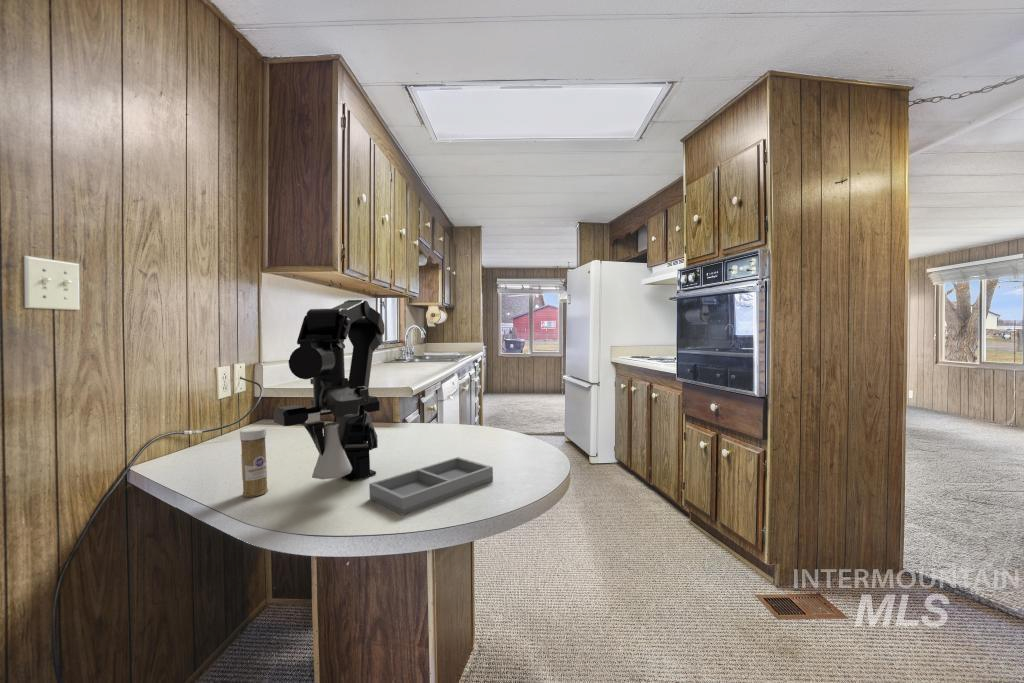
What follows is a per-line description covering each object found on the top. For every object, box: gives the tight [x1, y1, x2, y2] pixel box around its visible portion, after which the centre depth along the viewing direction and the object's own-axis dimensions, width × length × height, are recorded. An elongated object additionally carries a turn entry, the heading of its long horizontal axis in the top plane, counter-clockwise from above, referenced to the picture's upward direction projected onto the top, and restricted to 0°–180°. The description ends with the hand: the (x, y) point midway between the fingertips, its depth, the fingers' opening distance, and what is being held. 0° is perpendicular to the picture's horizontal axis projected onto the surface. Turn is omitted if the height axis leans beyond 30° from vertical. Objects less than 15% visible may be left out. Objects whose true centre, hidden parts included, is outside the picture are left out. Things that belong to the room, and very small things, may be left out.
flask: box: [311, 421, 352, 480], centre depth 85 cm, size 7×7×10 cm
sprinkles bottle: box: [239, 426, 269, 498], centre depth 90 cm, size 5×5×14 cm
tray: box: [368, 456, 494, 516], centre depth 90 cm, size 12×22×3 cm, turn 137°
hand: (331, 453), depth 85 cm, fingers closed on flask, 3 cm apart
